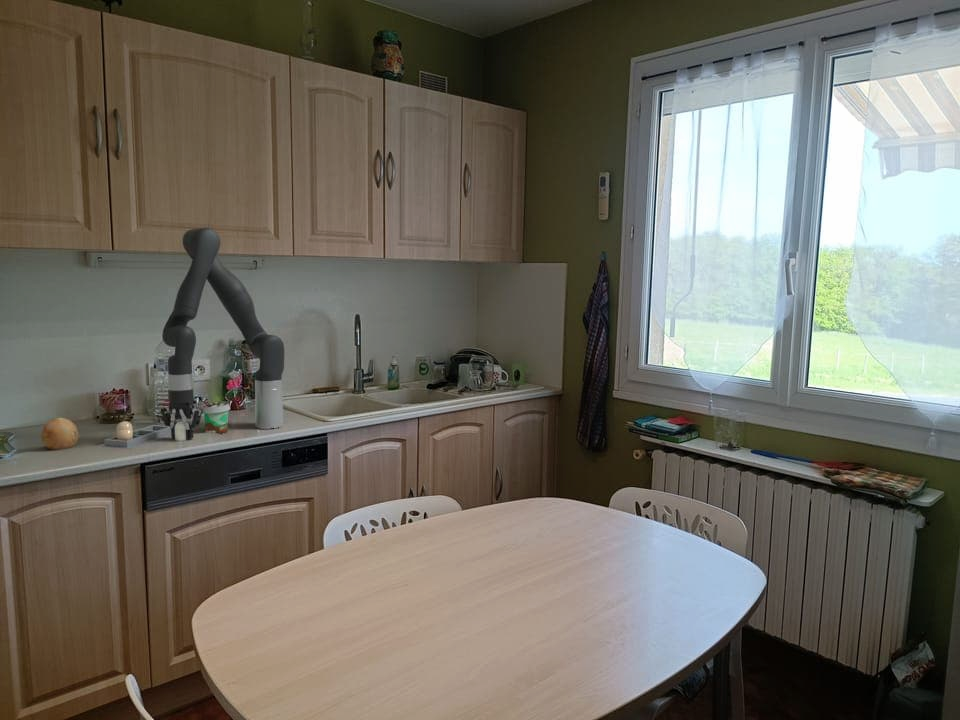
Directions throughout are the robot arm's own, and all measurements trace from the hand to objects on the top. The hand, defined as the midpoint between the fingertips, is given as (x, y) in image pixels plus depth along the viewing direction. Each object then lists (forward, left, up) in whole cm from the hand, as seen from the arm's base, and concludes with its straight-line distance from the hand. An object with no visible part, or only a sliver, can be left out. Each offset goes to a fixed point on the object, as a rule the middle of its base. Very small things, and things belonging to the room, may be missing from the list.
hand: (182, 439), depth 216 cm
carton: (+3, -13, -1) cm, 13 cm away
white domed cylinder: (0, 0, -1) cm, 1 cm away
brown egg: (+10, -13, 0) cm, 16 cm away
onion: (+19, -28, -1) cm, 34 cm away
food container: (-15, +4, -1) cm, 16 cm away
